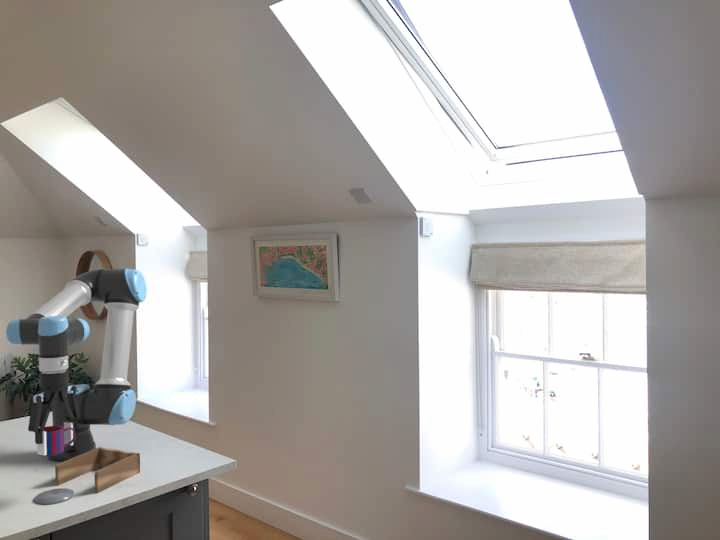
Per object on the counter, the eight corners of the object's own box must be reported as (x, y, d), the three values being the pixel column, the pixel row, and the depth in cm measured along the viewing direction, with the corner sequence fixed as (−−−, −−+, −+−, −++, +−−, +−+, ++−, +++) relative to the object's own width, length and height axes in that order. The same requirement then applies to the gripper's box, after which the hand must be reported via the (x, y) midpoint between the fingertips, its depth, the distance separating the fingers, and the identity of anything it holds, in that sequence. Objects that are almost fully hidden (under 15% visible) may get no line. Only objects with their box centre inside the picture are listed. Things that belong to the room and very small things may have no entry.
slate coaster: (26, 501, 180) (26, 499, 180) (55, 488, 189) (55, 486, 189) (53, 506, 176) (53, 504, 176) (81, 493, 186) (81, 491, 185)
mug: (36, 451, 183) (36, 427, 183) (74, 445, 188) (74, 422, 188) (38, 458, 177) (38, 433, 177) (77, 452, 182) (77, 428, 182)
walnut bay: (55, 484, 192) (55, 465, 192) (99, 465, 208) (99, 447, 208) (98, 492, 186) (97, 472, 185) (140, 472, 202) (139, 453, 202)
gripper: (32, 379, 170) (33, 463, 171) (92, 365, 190) (94, 440, 191) (11, 377, 173) (13, 459, 174) (73, 363, 193) (74, 437, 194)
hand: (55, 449), depth 182 cm, fingers closed on mug, 9 cm apart
